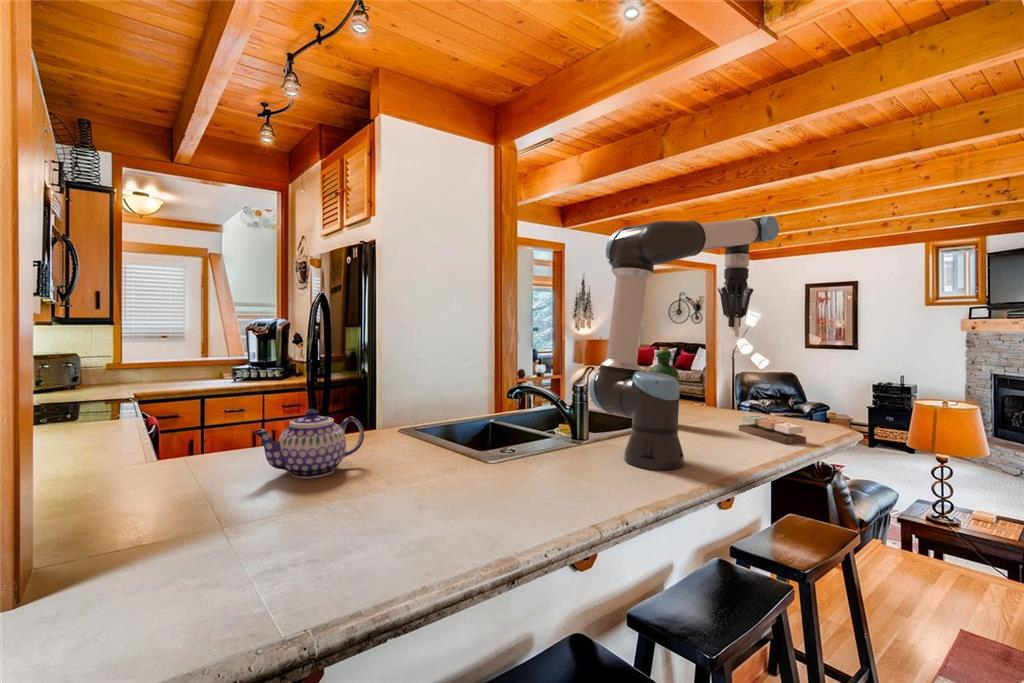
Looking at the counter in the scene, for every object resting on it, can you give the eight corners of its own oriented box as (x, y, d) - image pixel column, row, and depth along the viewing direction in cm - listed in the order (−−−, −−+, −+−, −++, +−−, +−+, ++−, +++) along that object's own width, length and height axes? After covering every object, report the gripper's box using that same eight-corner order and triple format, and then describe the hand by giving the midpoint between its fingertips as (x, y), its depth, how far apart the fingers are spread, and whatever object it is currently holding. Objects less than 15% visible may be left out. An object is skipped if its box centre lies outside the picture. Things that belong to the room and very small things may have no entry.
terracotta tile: (770, 435, 161) (771, 422, 161) (757, 432, 166) (758, 419, 166) (784, 434, 163) (784, 421, 162) (770, 431, 168) (771, 418, 168)
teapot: (354, 456, 132) (355, 400, 132) (374, 471, 120) (375, 409, 119) (248, 471, 118) (248, 408, 117) (258, 490, 105) (258, 420, 105)
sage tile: (754, 430, 168) (754, 418, 168) (742, 427, 173) (742, 415, 173) (767, 430, 169) (768, 417, 169) (755, 426, 175) (755, 414, 174)
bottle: (673, 422, 186) (676, 346, 184) (680, 428, 175) (683, 348, 174) (644, 421, 187) (646, 346, 185) (649, 427, 176) (651, 347, 175)
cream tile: (788, 440, 154) (788, 427, 154) (774, 436, 160) (774, 423, 159) (802, 439, 156) (802, 426, 156) (787, 435, 161) (788, 422, 161)
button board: (785, 444, 154) (785, 438, 154) (738, 430, 173) (738, 424, 173) (805, 443, 156) (806, 436, 156) (757, 429, 175) (757, 423, 175)
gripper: (728, 265, 165) (725, 337, 166) (760, 267, 168) (757, 337, 169) (712, 267, 172) (710, 336, 173) (744, 269, 176) (741, 336, 177)
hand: (733, 336), depth 171 cm, fingers closed
